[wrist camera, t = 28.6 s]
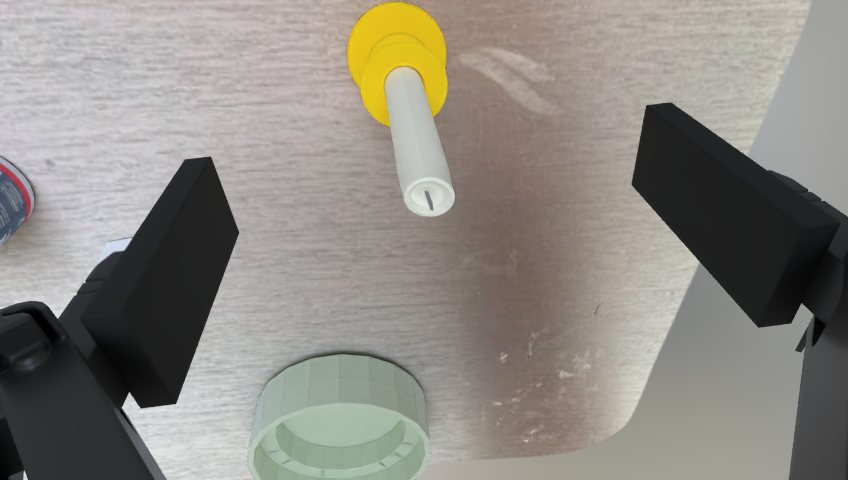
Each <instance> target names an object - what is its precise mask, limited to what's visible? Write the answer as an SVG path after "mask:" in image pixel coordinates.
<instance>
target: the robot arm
mask: <svg viewBox="0 0 848 480" xmlns="http://www.w3.org/2000/svg"><path fill="white" fill-rule="evenodd" d="M632 186H633V187H634V188H635V189H636V190H637V192H638V193H639V194H640V195H641V196H642V197H643V198H644V199H645V201H646V202H647V203H648V204H649V205H650V206H651V207H652V208H653V210H654V211H655V212H656V213H657V214H658V215H659V216H660V217H661V219H662V220H663V221H664V222H665V223H666V224H667V225H668V226H669V228H670V229H671V230H672V231H673V232H674V233H675V234H676V235H677V237H678V238H679V239H680V240H681V241H682V242H683V243H684V244H685V246H686V247H687V248H688V249H689V250H690V251H691V252H692V253H693V255H694V256H695V257H696V258H697V259H698V260H699V261H700V262H701V264H702V265H703V266H704V267H705V268H706V269H707V270H708V271H709V273H710V274H711V275H712V276H713V277H714V278H715V279H716V280H717V282H718V283H719V284H720V285H721V286H722V287H723V288H724V289H725V291H726V292H727V293H728V294H729V295H730V296H731V297H732V298H733V300H734V301H735V302H736V303H737V304H738V305H739V306H740V307H741V309H742V310H743V311H744V312H745V313H746V314H747V315H748V316H749V318H750V319H751V320H752V321H753V322H754V323H755V324H756V325H757V327H759V328H760V327H767V326H775V325H783V324H790V323H792V321H793V319H794V317H795V314H796V313H797V311H798V309H799V307H800V305H801V303H802V304H803V305H804V306H806V307H807V308H808V309H809V310H810V311H811V312H812V313H813V314H814V316H813V318H812V319H811V322H810V323H809V325H808V327H807V329H806V331H805V333H804V335H803V337H802V339H801V340H800V343H799V344H798V346H797V348H796V350H795V351H798V352H802V350H803V349H804V347H805V352H804V360H803V369H802V376H801V384H800V392H799V401H798V409H797V417H796V426H795V434H794V442H793V450H792V458H791V466H790V475H789V480H848V217H847V216H846V215H844V214H843V213H841V212H840V211H838V210H837V209H835V208H834V207H833V206H831V205H830V204H828V203H827V202H825V201H821V198H819V197H818V196H816V195H815V194H814V193H812V192H808V189H806V188H805V187H803V186H802V185H800V184H799V183H798V182H796V181H795V180H793V179H791V178H789V177H786V176H784V175H781V174H779V173H776V172H774V171H771V170H769V171H767V170H766V169H764V168H763V167H761V166H760V165H758V164H757V163H756V162H754V161H753V160H751V159H750V158H749V157H747V156H746V155H744V154H743V153H742V152H740V151H739V150H737V149H736V148H734V147H733V146H732V145H730V144H729V143H727V142H726V141H725V140H723V139H722V138H720V137H719V136H718V135H716V134H715V133H713V132H712V131H710V130H709V129H708V128H706V127H705V126H703V125H702V124H701V123H699V122H698V121H696V120H695V119H694V118H692V117H691V116H689V115H688V114H687V113H685V112H684V111H682V110H681V109H679V108H678V107H677V106H675V105H674V104H672V103H662V104H654V105H646V109H645V115H644V120H643V125H642V131H641V136H640V142H639V147H638V152H637V158H636V163H635V169H634V174H633V179H632ZM238 234H239V231H238V228H237V225H236V223H235V220H234V217H233V215H232V212H231V209H230V207H229V204H228V201H227V198H226V196H225V193H224V190H223V188H222V185H221V182H220V180H219V177H218V174H217V171H216V169H215V166H214V163H213V161H212V158H211V157H203V158H194V159H186V160H184V162H183V163H182V165H181V166H180V168H179V169H178V171H177V172H176V174H175V175H174V177H173V178H172V180H171V181H170V183H169V184H168V186H167V187H166V189H165V190H164V192H163V193H162V195H161V196H160V198H159V199H158V201H157V202H156V204H155V205H154V207H153V208H152V210H151V211H150V213H149V214H148V216H147V217H146V219H145V220H144V222H143V223H142V225H141V226H140V228H139V229H138V231H137V232H136V234H135V235H134V237H133V238H132V240H131V241H130V243H129V244H128V246H127V247H126V249H125V250H124V251H116V252H113V253H111V254H110V255H109V256H108V257H106V258H105V259H104V260H103V261H101V262H100V263H99V264H98V265H96V266H95V268H94V269H93V271H92V272H91V273H90V275H89V276H88V278H87V279H86V280H85V281H86V283H83V285H82V286H81V287H80V289H79V290H78V292H77V295H75V296H74V297H73V299H72V300H71V301H70V303H69V304H68V306H67V307H66V308H65V310H64V311H63V313H62V314H61V315H60V317H59V318H58V319H57V318H56V317H55V315H54V314H53V312H52V311H51V310H50V308H49V307H48V306H47V305H46V304H44V303H43V302H37V301H28V302H23V303H17V304H14V305H11V306H9V307H6V308H4V309H1V310H0V480H23V474H24V470H25V473H26V475H27V478H28V480H167V479H166V478H165V476H164V474H163V473H162V471H161V470H160V468H159V466H158V465H157V463H156V461H155V460H154V458H153V456H152V455H151V453H150V452H149V450H148V448H147V447H146V445H145V443H144V442H143V440H142V439H141V437H140V435H139V434H138V432H137V430H136V429H135V427H134V426H133V424H132V422H131V421H130V419H129V417H128V416H127V415H126V413H125V412H124V410H123V409H122V406H123V404H124V402H125V400H126V398H127V395H128V393H129V392H130V393H131V395H132V396H133V398H134V399H135V401H136V402H137V404H138V405H139V407H140V408H148V407H156V406H163V405H171V404H176V403H177V400H178V397H179V394H180V392H181V389H182V386H183V384H184V381H185V378H186V375H187V373H188V370H189V367H190V365H191V362H192V359H193V356H194V354H195V351H196V348H197V346H198V343H199V340H200V337H201V335H202V332H203V329H204V327H205V324H206V321H207V318H208V316H209V313H210V310H211V308H212V305H213V302H214V299H215V297H216V294H217V291H218V289H219V286H220V283H221V281H222V278H223V275H224V272H225V270H226V267H227V264H228V262H229V259H230V256H231V253H232V251H233V248H234V245H235V243H236V240H237V237H238Z"/></svg>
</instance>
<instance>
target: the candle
mask: <svg viewBox="0 0 848 480" xmlns="http://www.w3.org/2000/svg"><path fill="white" fill-rule="evenodd" d="M347 59H348V67H349V70H350V73H351V75H352V78H353V80H354V81H355V83H356V84H357V86H358V87H359V88H360V90H361V97H362V99H363V102H364V105H365V107H366V108H367V110H368V111H369V113H370V114H371V115H372V116H373V117H374V118H375V119H376V120H377V121H379V122H380V123H382V124H384V125H386V126H388V127H390V128H391V135H392V141H393V148H394V154H395V161H396V168H397V174H398V178H399V183H400V187H401V191H402V195H403V199H404V202H405V204H406V206H407V207H408V208H409V209H410V210H411V211H412V212H414V213H415V214H418V215H420V216H426V217H434V216H439V215H441V214H443V213H445V212H447V211H448V210H449V209H450V208H451V207H452V205H453V203H454V200H455V193H454V190H453V188H452V183H451V178H450V173H449V169H448V165H447V162H446V159H445V155H444V152H443V149H442V146H441V142H440V139H439V136H438V132H437V129H436V126H435V122H434V119H433V117H434V116H435V115H436V114H437V113H438V112H439V111H440V109H441V107H442V106H443V104H444V102H445V99H446V95H447V88H448V80H447V76H446V72H445V65H446V44H445V40H444V37H443V34H442V32H441V30H440V29H439V27H438V25H437V23H436V21H435V20H434V19H433V18H432V17H431V16H430V15H429V14H428V13H427V12H426V11H424V10H422V9H420V8H419V7H417V6H415V5H412V4H408V3H404V2H387V3H384V4H381V5H378V6H375V7H373V8H372V9H370V10H369V11H368V12H366V13H365V14H363V15H362V17H361V18H360V19H359V20H358V22H357V23H356V24H355V25H354V28H353V30H352V32H351V34H350V37H349V41H348V48H347Z"/></svg>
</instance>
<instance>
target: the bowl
mask: <svg viewBox="0 0 848 480" xmlns="http://www.w3.org/2000/svg"><path fill="white" fill-rule="evenodd" d="M430 457H431V447H430V439H429V432H428V424H427V416H426V409H425V401H424V394H423V391H422V389H421V388H420V387H419V385H418V384H417V382H416V381H415V379H414V378H413V377H412V376H411V375H409V374H408V373H406V372H405V371H403V370H402V369H400V368H399V367H397V366H396V365H394V364H392V363H389V362H385V361H382V360H379V359H376V358H373V357H369V356H359V355H345V354H339V355H332V356H325V357H317V358H312V359H309V360H306V361H304V362H301V363H298V364H296V365H293V366H291V367H288V368H286V369H285V370H284V371H282V372H281V373H280V374H278V375H277V376H276V377H274V378H273V379H272V380H270V381H269V382H268V383H267V385H266V386H265V388H264V390H263V391H262V393H261V394H260V396H259V398H258V400H257V405H256V410H255V415H254V420H253V425H252V430H251V436H250V441H249V446H248V455H247V467H248V469H249V470H250V472H251V474H252V476H253V478H254V480H416V479H417V478H418V477H419V476H420V475H421V474H422V473H423V472H424V471H425V469H426V467H427V464H428V462H429V459H430Z"/></svg>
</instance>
